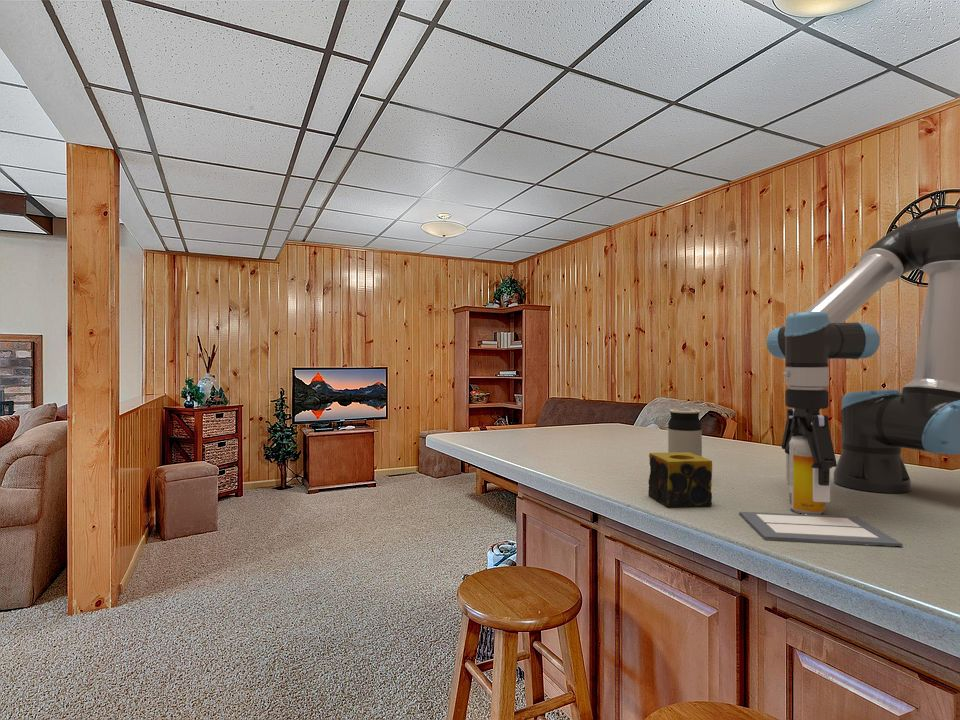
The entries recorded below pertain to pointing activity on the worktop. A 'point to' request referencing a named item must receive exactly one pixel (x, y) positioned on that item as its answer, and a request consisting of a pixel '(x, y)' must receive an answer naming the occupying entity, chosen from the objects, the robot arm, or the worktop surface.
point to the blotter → (816, 529)
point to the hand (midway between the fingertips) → (806, 492)
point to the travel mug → (685, 431)
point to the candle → (680, 479)
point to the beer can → (802, 478)
